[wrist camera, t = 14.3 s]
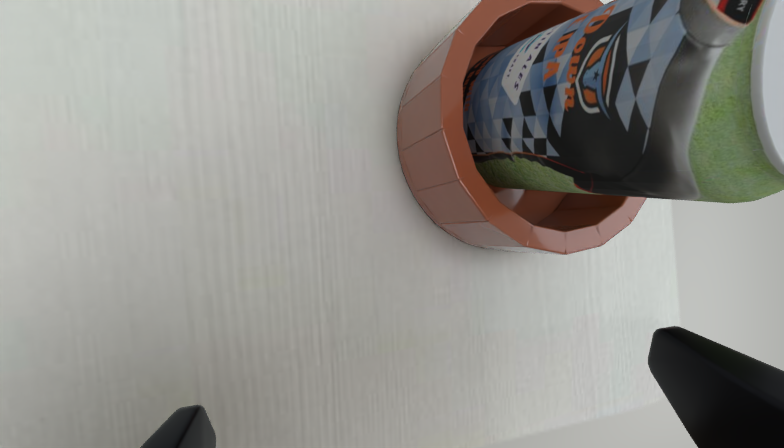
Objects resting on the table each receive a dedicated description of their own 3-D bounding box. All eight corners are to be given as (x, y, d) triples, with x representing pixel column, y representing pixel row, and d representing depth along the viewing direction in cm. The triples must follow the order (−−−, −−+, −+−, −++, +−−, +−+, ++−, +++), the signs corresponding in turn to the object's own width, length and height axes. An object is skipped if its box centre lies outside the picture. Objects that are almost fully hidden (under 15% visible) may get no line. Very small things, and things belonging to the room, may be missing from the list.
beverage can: (517, 46, 20) (864, -197, 9) (576, 181, 21) (958, 118, 10) (412, 95, 18) (686, -135, 7) (483, 241, 19) (824, 249, 8)
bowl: (570, 264, 22) (649, 271, 17) (377, 228, 18) (417, 225, 14) (594, 71, 22) (675, 33, 18) (414, 2, 19) (462, -66, 15)
